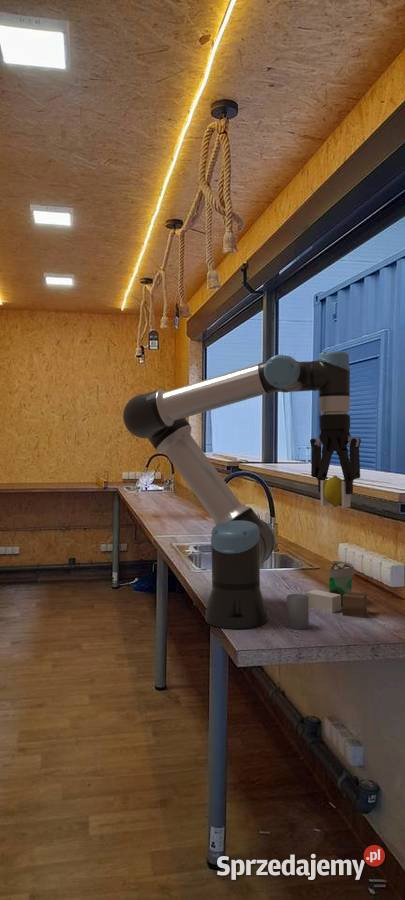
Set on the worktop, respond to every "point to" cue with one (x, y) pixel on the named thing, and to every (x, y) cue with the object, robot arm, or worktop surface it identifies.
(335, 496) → the lemon
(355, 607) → the walnut cube
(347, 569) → the food container
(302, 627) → the slate cylinder
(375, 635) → the worktop surface
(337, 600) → the off-white brick
